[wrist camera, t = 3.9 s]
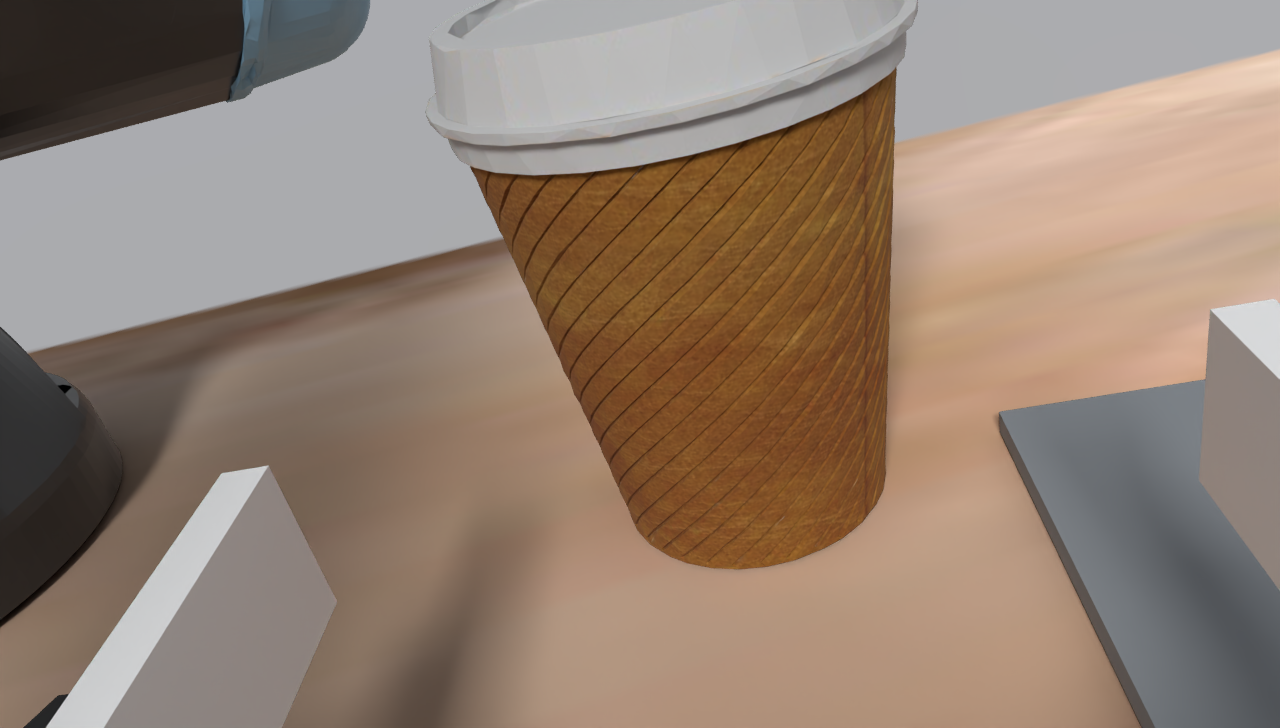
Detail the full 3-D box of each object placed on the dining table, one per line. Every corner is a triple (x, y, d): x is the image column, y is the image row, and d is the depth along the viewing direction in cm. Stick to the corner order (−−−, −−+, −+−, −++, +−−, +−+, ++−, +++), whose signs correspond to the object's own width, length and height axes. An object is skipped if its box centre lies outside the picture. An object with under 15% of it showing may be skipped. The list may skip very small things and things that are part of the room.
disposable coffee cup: (522, 468, 27) (367, 27, 21) (818, 342, 29) (751, -87, 24) (658, 698, 19) (469, 92, 13) (1050, 502, 21) (1035, -90, 16)
